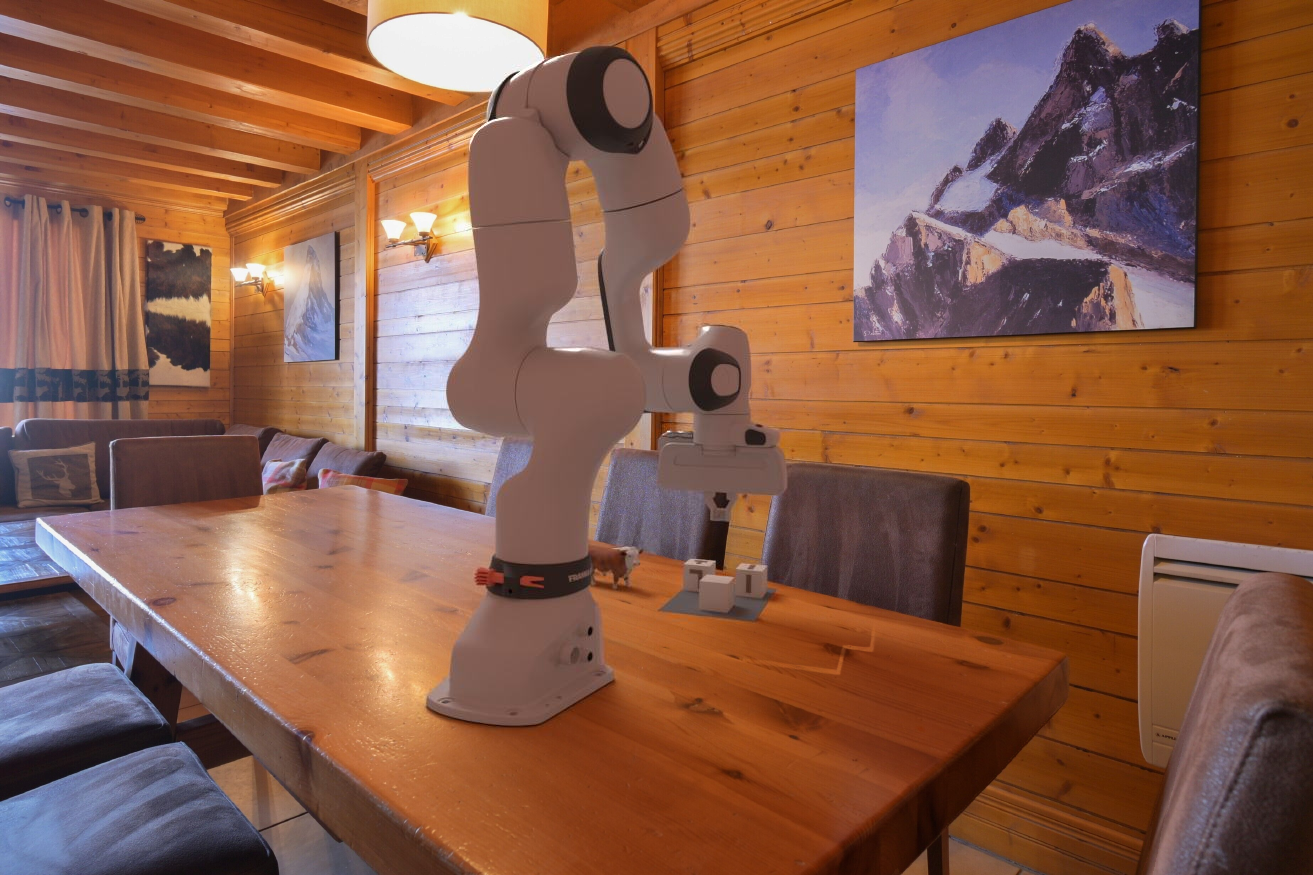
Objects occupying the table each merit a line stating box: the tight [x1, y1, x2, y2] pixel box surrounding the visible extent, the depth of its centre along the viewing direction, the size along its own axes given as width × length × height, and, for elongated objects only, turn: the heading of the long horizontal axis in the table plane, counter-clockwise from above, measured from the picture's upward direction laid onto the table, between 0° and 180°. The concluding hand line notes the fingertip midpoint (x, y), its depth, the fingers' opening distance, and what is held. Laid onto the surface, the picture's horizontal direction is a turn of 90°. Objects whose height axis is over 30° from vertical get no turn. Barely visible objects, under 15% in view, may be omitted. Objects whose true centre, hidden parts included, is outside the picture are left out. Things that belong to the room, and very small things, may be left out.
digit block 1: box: [734, 562, 768, 599], centre depth 124 cm, size 5×4×5 cm
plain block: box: [699, 574, 735, 613], centre depth 115 cm, size 4×4×4 cm
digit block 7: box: [682, 558, 717, 592], centre depth 126 cm, size 5×4×5 cm
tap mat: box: [657, 583, 777, 623], centre depth 120 cm, size 20×15×1 cm
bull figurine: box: [588, 543, 644, 590], centre depth 127 cm, size 4×13×8 cm, turn 53°
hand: (720, 520), depth 115 cm, fingers closed
